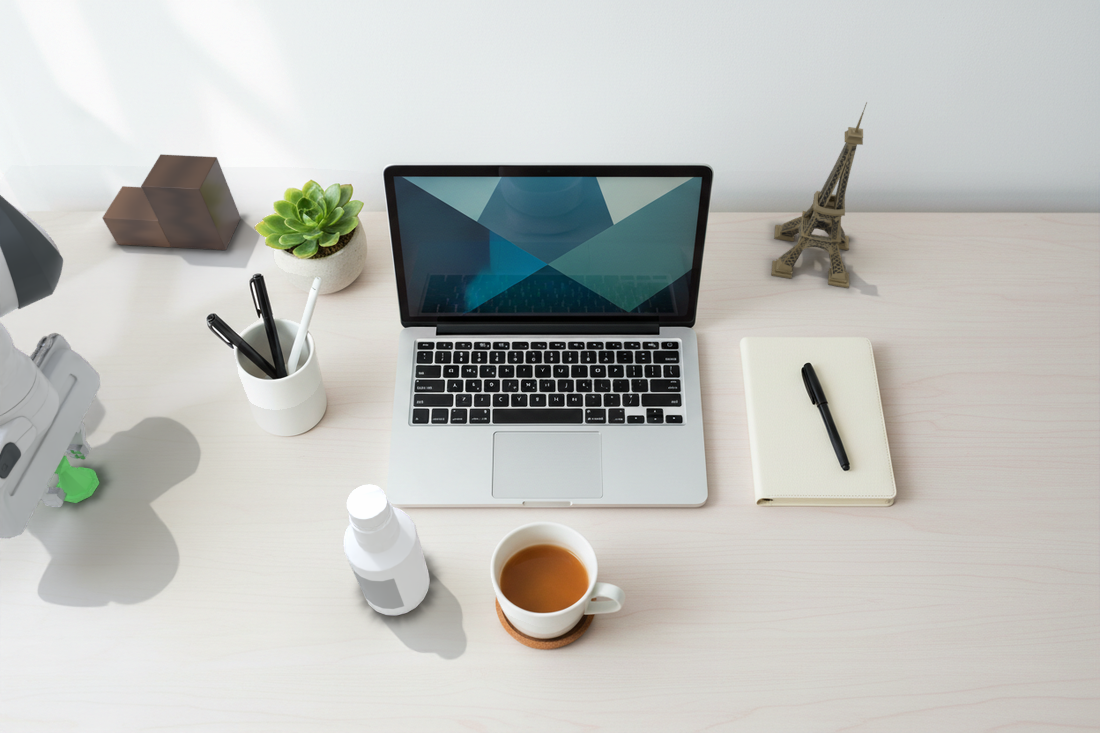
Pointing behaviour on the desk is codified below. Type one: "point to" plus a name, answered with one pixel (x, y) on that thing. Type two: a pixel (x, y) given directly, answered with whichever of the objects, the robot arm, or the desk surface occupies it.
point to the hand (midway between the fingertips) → (70, 476)
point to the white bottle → (384, 552)
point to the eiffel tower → (823, 219)
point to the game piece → (76, 481)
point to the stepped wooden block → (176, 206)
